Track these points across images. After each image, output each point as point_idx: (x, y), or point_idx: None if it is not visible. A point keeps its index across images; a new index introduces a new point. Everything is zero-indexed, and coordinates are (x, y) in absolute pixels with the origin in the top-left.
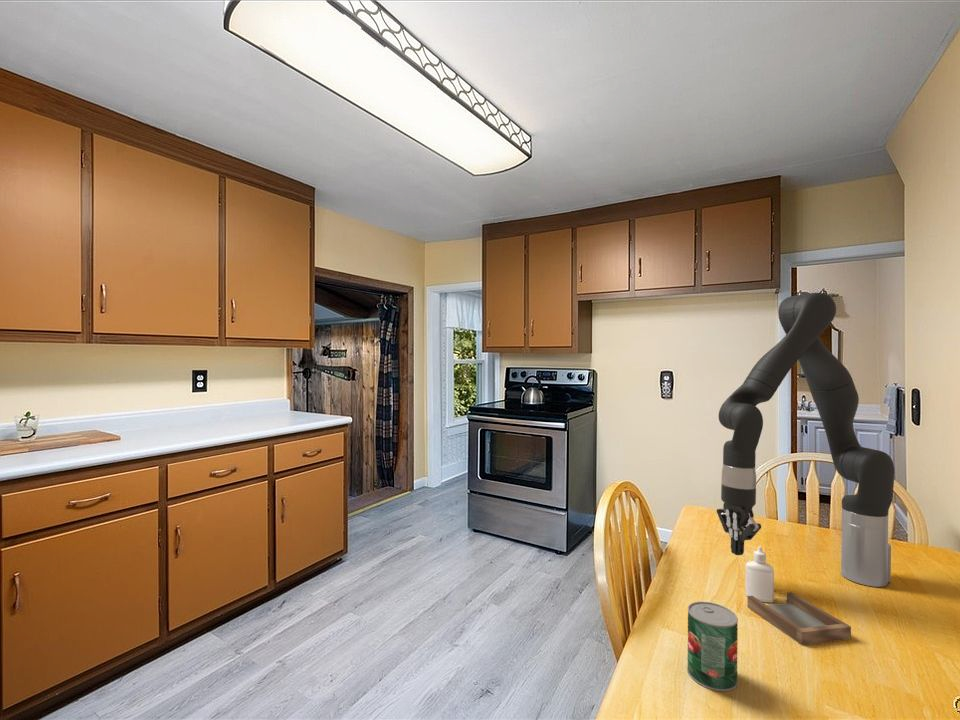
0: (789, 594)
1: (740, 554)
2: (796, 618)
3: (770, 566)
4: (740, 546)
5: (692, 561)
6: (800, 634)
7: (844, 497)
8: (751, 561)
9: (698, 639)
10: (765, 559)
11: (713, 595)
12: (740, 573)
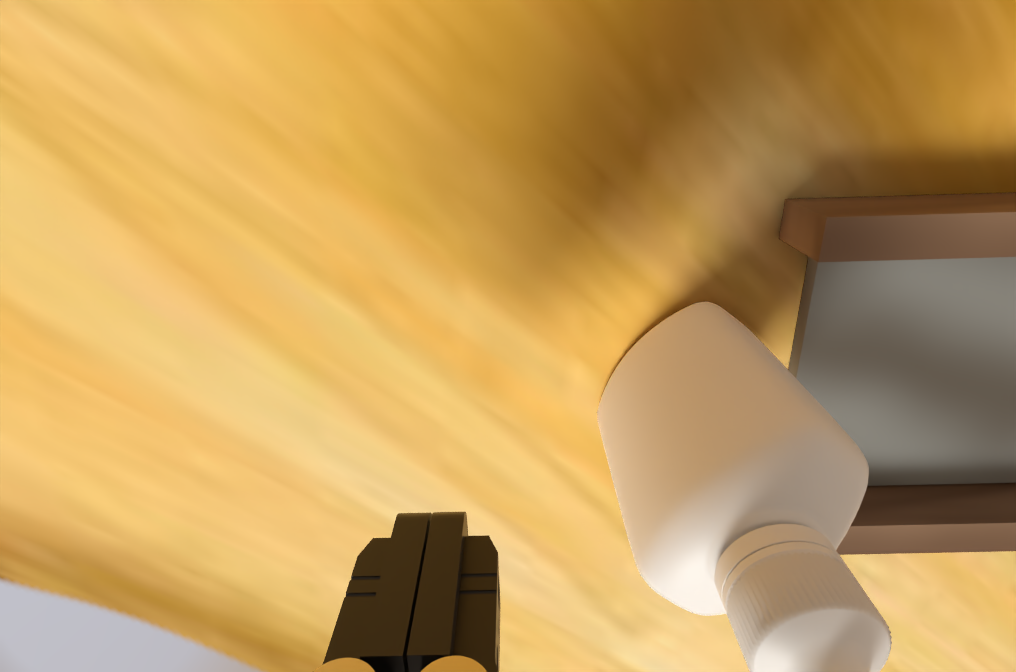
0: (844, 260)
1: (467, 534)
2: (979, 362)
3: (847, 486)
4: (497, 645)
5: (83, 453)
6: None
7: None
8: (704, 596)
9: None
10: (853, 576)
11: (571, 586)
12: (282, 233)
